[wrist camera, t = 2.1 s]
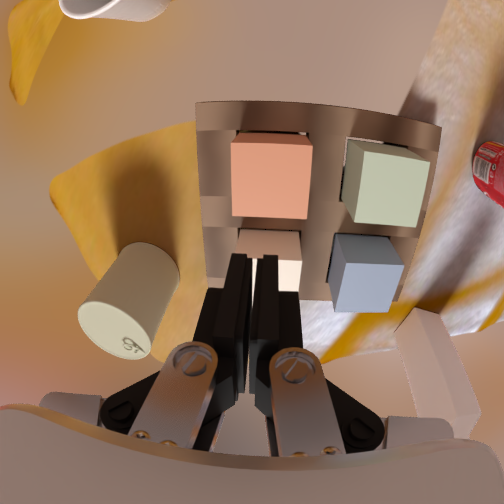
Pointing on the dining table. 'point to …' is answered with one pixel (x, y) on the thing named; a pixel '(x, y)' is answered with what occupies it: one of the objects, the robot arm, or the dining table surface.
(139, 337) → the can
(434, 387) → the milk
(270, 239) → the cream block
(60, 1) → the dixie cup
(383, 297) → the slate-blue block
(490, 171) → the soda can
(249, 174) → the terracotta block
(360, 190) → the sage block
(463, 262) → the dining table surface
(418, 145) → the walnut frame
